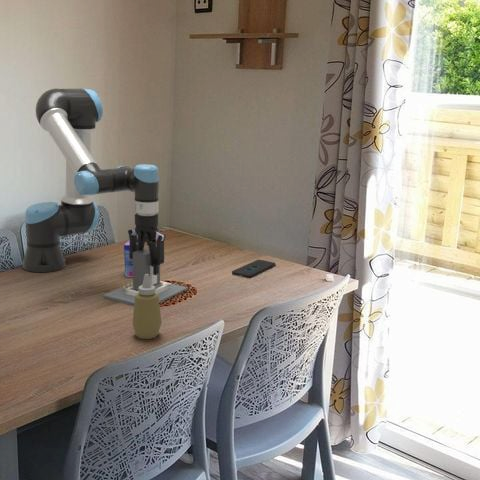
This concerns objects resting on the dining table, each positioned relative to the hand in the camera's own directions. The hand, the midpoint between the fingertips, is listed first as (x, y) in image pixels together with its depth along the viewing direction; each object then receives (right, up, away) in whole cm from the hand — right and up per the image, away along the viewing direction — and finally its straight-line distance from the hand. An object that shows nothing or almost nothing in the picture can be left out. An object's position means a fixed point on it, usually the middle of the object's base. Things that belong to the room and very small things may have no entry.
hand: (146, 281), depth 211 cm
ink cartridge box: (-8, +1, +22) cm, 23 cm away
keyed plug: (0, -1, 0) cm, 1 cm away
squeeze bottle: (+5, -13, -32) cm, 34 cm away
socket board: (0, -4, +1) cm, 4 cm away
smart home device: (+36, +2, +31) cm, 48 cm away
